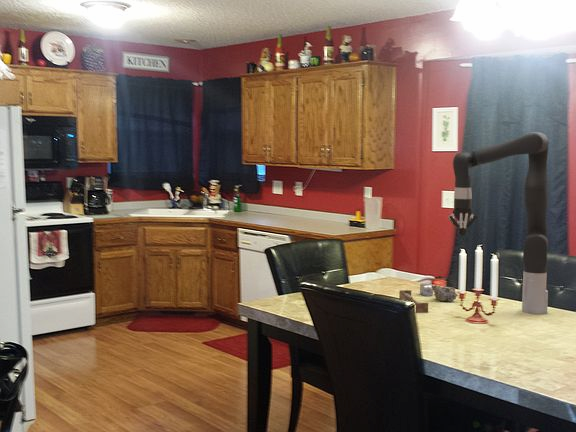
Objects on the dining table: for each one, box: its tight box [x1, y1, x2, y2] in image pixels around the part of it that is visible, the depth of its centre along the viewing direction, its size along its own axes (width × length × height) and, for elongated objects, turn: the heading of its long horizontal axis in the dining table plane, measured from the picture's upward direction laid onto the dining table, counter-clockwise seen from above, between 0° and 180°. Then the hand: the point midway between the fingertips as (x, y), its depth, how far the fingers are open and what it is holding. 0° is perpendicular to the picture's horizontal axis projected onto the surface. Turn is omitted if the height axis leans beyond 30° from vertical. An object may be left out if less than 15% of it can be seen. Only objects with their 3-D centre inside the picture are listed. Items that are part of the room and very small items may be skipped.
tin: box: [419, 283, 434, 298], centre depth 313 cm, size 6×6×5 cm
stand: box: [398, 289, 429, 314], centre depth 291 cm, size 5×27×5 cm, turn 5°
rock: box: [431, 284, 459, 302], centre depth 300 cm, size 11×6×10 cm
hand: (461, 236), depth 299 cm, fingers closed
